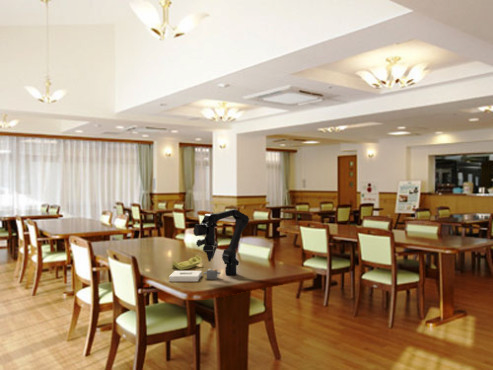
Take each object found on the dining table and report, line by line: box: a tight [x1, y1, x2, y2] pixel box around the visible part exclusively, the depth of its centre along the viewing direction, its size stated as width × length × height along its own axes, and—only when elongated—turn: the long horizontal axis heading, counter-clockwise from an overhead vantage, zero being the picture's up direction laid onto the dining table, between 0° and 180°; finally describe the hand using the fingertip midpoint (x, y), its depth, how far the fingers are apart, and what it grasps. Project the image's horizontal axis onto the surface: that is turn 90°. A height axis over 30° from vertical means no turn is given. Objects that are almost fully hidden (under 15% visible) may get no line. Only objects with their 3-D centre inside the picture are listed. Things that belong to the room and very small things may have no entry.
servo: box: [202, 268, 221, 280], centre depth 253 cm, size 10×4×6 cm, turn 88°
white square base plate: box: [168, 270, 203, 282], centre depth 253 cm, size 17×16×3 cm
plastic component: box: [171, 254, 203, 271], centre depth 287 cm, size 20×7×10 cm
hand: (210, 260), depth 254 cm, fingers open, 9 cm apart
